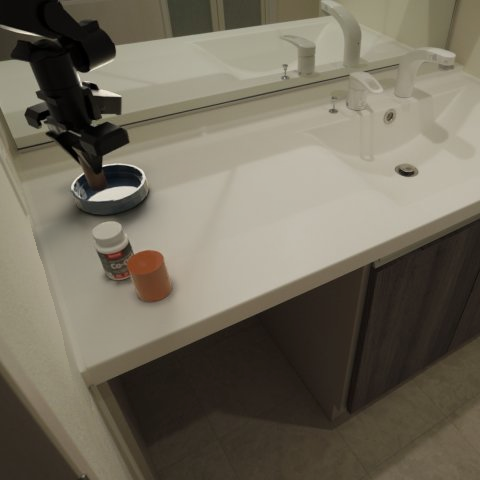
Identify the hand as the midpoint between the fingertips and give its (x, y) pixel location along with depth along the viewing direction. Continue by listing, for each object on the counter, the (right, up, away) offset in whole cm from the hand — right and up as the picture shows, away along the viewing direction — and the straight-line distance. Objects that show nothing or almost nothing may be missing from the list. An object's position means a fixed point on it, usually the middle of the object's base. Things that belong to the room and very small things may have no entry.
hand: (92, 170), depth 74 cm
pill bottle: (+9, -17, -8) cm, 21 cm away
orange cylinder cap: (+15, -20, -10) cm, 27 cm away
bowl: (0, -4, +7) cm, 8 cm away
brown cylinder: (0, 0, 0) cm, 0 cm away
